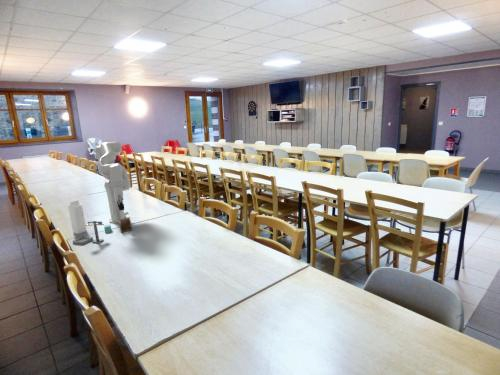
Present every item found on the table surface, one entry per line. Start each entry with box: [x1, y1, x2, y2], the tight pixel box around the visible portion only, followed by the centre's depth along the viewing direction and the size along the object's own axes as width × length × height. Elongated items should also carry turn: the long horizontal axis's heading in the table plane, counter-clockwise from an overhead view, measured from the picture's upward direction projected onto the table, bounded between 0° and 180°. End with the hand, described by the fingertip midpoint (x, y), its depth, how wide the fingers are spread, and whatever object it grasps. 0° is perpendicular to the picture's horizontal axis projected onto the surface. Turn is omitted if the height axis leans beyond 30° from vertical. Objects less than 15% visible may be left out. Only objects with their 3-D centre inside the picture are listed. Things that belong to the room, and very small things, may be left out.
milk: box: [67, 200, 88, 235], centre depth 209 cm, size 6×6×22 cm
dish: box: [72, 236, 94, 246], centre depth 193 cm, size 8×8×2 cm
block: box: [103, 224, 112, 233], centre depth 209 cm, size 4×4×4 cm
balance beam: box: [84, 220, 105, 227], centre depth 189 cm, size 4×13×2 cm, turn 161°
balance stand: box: [91, 223, 104, 244], centre depth 190 cm, size 5×4×12 cm
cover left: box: [118, 217, 133, 234], centre depth 209 cm, size 7×7×7 cm
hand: (121, 208), depth 206 cm, fingers open, 9 cm apart
